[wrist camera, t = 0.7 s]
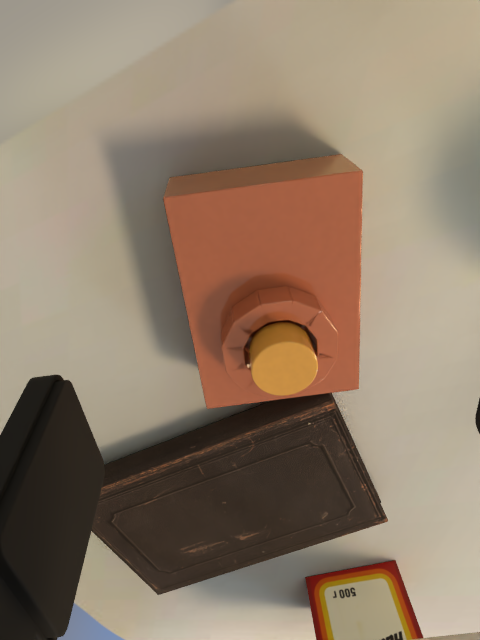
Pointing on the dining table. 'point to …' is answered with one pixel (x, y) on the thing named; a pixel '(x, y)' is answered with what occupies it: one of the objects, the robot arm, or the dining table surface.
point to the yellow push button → (282, 359)
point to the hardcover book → (236, 493)
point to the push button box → (270, 268)
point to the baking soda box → (362, 604)
